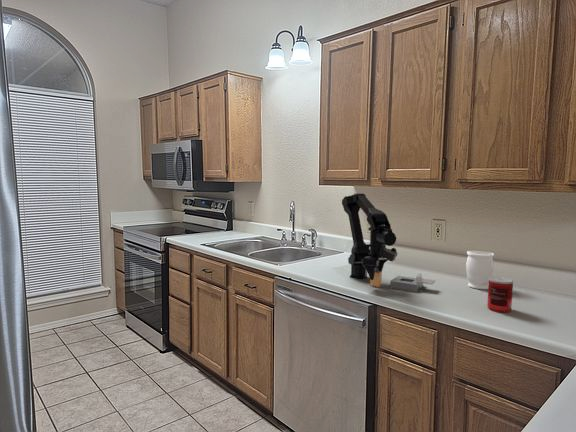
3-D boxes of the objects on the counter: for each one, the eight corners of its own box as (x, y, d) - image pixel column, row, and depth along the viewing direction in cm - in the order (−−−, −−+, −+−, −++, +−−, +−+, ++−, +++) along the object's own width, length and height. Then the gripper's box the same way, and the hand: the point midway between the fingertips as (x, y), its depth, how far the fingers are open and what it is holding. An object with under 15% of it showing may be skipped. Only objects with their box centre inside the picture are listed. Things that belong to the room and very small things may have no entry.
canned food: (503, 305, 149) (505, 276, 147) (516, 313, 141) (518, 282, 139) (482, 305, 148) (484, 276, 147) (494, 313, 140) (496, 282, 139)
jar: (459, 284, 176) (461, 251, 175) (477, 282, 180) (479, 249, 179) (479, 291, 167) (480, 255, 165) (497, 289, 170) (499, 254, 169)
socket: (390, 288, 171) (390, 281, 171) (397, 282, 180) (398, 275, 180) (416, 292, 165) (416, 284, 165) (423, 285, 174) (423, 279, 174)
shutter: (416, 282, 168) (416, 276, 167) (419, 279, 172) (419, 273, 172) (432, 284, 164) (432, 278, 164) (435, 281, 169) (435, 275, 169)
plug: (370, 285, 174) (370, 268, 174) (372, 284, 177) (373, 267, 176) (379, 287, 172) (379, 269, 172) (381, 285, 175) (381, 268, 174)
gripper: (388, 247, 161) (387, 285, 162) (401, 240, 176) (400, 275, 178) (361, 244, 167) (361, 281, 168) (377, 238, 182) (376, 272, 184)
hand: (375, 277), depth 174 cm, fingers open, 9 cm apart
